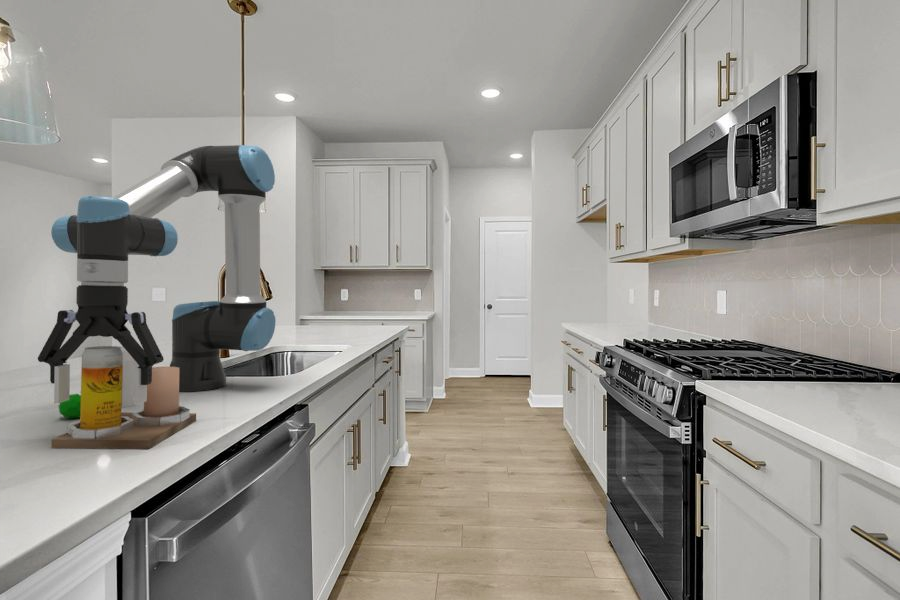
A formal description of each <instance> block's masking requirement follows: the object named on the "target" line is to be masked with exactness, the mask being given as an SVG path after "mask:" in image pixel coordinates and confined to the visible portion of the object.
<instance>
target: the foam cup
mask: <svg viewBox="0 0 900 600" xmlns="http://www.w3.org/2000/svg"><path fill="white" fill-rule="evenodd" d="M117 347H121V350H122V352H123V377H122V408H126V407H129V406H132V405H134V375H135V368H137V367H139V365H138V364H137V362H136V361H135V360H134V359H133V358H132V357H131V355H130V354H129V353H128V352H127V351H126V349H125V348H124V347H123V346H122V345H117Z"/></svg>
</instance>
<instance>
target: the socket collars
mask: <svg viewBox="0 0 900 600" xmlns="http://www.w3.org/2000/svg"><path fill="white" fill-rule="evenodd" d="M132 413H133V414H132V419H131V418H129V417H128V416H127V417H126V416H121V424H120V425H118V426H112V427H106V428H99V429H80V420H78V421H74V422H72V423H70V424H68V425H66V433H67V434H68V435H69V436H70V437H71V438H73V439H98V438H104V437H110V436H116V435H120V434H123V433H125V432H127V431H129V430H131V429H133V423H135V424H136V425H139V426H162V425H168V424H174V423H180V422H182V421H184V420H186V419H187V418H189V417H190V413H191V410H190V409H189V408H188V407H185V406H181V405H179V414H175V415H169V416H163V417H144V408H142V409H140V410H137V411H135V412H132Z"/></svg>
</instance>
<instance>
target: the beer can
mask: <svg viewBox="0 0 900 600" xmlns="http://www.w3.org/2000/svg"><path fill="white" fill-rule="evenodd" d="M117 346H118V345H117ZM117 346H116V345H115V346H114V345H113V346H112V345H103V346H87V347H85V348H84V350H83V352H82V354H81V373H80V374H81V377H80V378H81V380H80V383H81V384H80V395H81V411H80V417H79V419H80V429H99V428H106V427H112V426H118V425H120V424H121V416H122V412H123V411H122V409H123V407H122V377H123V352H122V350H121V347H117Z"/></svg>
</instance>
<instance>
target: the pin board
mask: <svg viewBox="0 0 900 600" xmlns="http://www.w3.org/2000/svg"><path fill="white" fill-rule="evenodd" d="M133 413H134V412H128V411H127V412H125V411H122V416H126V417H127V416H128V417H129V418H131V419H132V414H133ZM196 421H197V412H196V413H193V412H192V413H191V412H190V417H189V418H187V419H186V420H184V421H182V422H180V423H174V424H168V425H162V426H139V425H136V424H135V423H133V429H131V430H129V431H127V432H125V433H123V434H120V435H116V436H110V437H104V438H98V439H73V438H71V437H70V436H69V435H68V434H67V432H65V433H62V434H61V435H58V436H56V437H54V438H51V444H50V445H51V449H103V450H105V449H106V450H107V449H110V450H112V449H113V450H114V449H115V450H118V449H119V450H123V449H126V450H127V449H128V450H129V449H130V450H150V449H151V448H153V447H156V445H158V444H159V443H161V442H163V441H165V440H166V439H168V438H170V437H171V436H173V435H175V434H176V433H178V432H180V431H181V430H183V429H185V428H186V427H188V426H189V425H191V424H193V423H195V422H196Z"/></svg>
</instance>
